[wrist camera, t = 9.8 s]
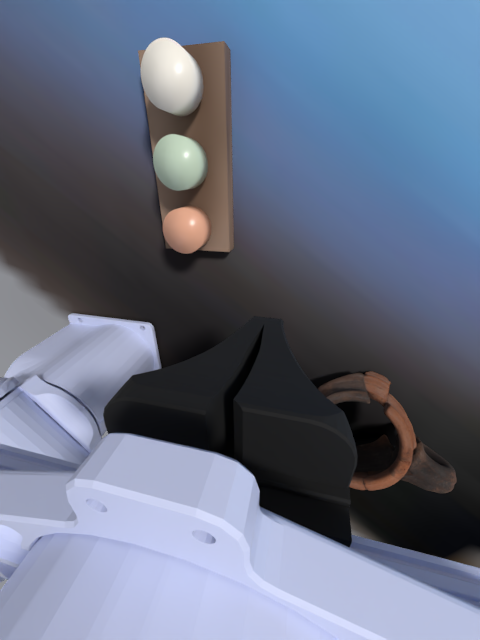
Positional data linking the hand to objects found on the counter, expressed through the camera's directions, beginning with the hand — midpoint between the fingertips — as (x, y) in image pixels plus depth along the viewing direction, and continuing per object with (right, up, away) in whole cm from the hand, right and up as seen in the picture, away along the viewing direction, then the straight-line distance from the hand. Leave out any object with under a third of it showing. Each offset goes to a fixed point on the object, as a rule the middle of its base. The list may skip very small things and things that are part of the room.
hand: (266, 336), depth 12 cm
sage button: (-5, +11, +4) cm, 12 cm away
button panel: (-4, +11, +6) cm, 13 cm away
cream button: (-5, +14, +3) cm, 15 cm away
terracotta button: (-5, +7, +6) cm, 11 cm away
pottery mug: (+11, -8, +13) cm, 18 cm away
